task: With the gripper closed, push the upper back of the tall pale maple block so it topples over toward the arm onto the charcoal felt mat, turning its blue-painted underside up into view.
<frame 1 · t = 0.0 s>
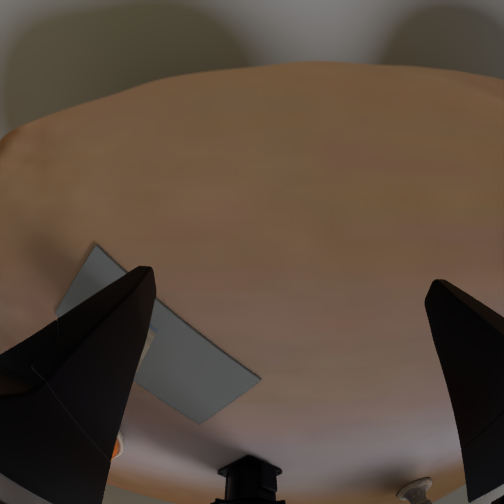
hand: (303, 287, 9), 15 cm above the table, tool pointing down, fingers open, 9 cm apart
decorative bust: (408, 487, 38), on the table
mat: (150, 348, 27), on the table
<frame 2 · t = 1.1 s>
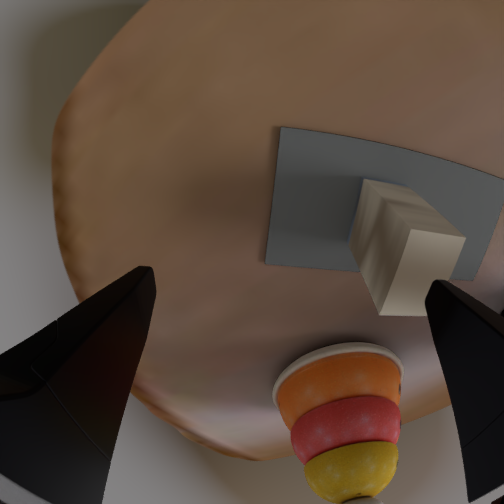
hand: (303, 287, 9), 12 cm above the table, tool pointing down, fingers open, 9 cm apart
mat: (404, 216, 21), on the table
stacking toy: (337, 375, 30), on the table
block: (376, 213, 20), resting on mat
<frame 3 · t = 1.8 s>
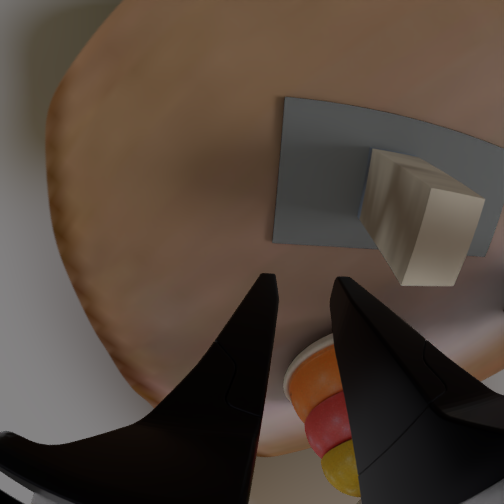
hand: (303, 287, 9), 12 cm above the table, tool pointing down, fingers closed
mat: (414, 188, 19), on the table
stacking toy: (349, 362, 29), on the table
block: (386, 185, 19), resting on mat
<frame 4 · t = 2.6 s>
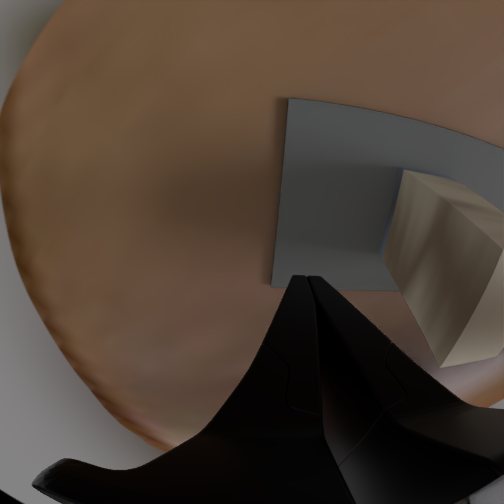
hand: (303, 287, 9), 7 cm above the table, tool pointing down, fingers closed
mat: (447, 218, 15), on the table
block: (416, 216, 15), resting on mat
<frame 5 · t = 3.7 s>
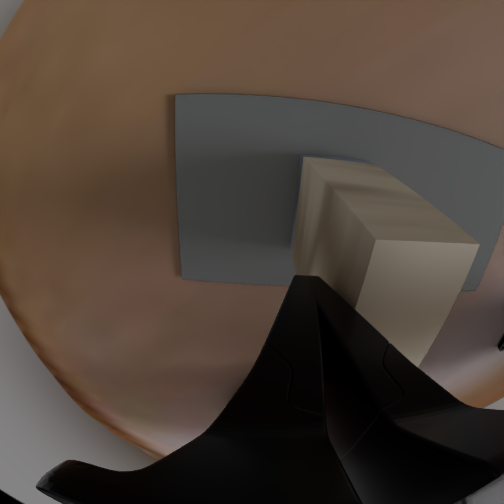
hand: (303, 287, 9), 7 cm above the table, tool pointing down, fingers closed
mat: (373, 208, 15), on the table
block: (330, 206, 14), resting on mat, touching gripper
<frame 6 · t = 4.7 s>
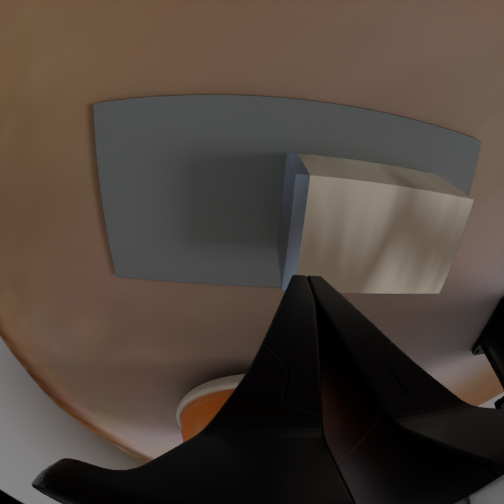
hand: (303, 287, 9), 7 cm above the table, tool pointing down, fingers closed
mat: (296, 202, 15), on the table
stacking toy: (259, 406, 25), on the table
block: (284, 218, 13), point 2 cm above the table, tilted 90°, touching mat
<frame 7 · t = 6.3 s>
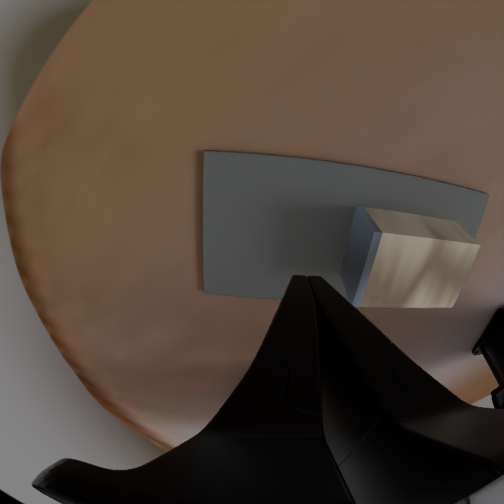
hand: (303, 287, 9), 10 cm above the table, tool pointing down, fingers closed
mat: (356, 240, 19), on the table
block: (354, 255, 18), point 2 cm above the table, tilted 90°, touching mat
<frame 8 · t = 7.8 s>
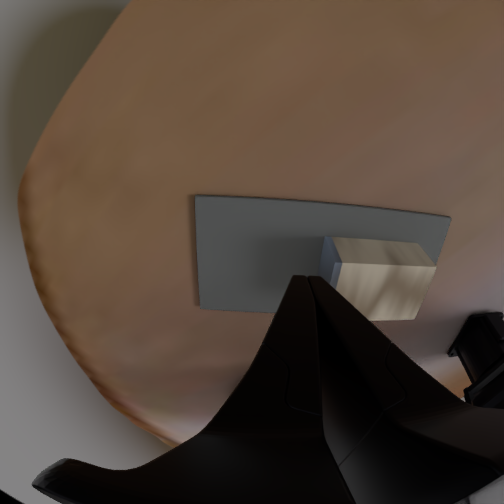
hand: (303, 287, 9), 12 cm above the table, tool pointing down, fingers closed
mat: (327, 263, 23), on the table
block: (323, 278, 21), point 2 cm above the table, tilted 90°, touching mat
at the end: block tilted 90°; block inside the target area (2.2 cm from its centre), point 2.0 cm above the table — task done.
